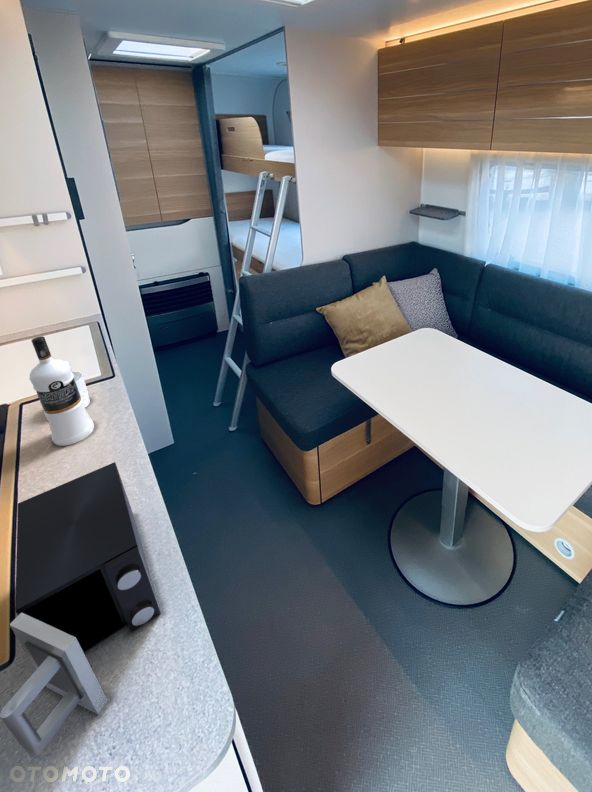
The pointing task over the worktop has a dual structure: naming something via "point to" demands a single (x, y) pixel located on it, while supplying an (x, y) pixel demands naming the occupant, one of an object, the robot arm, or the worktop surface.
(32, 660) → the microwave door
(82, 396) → the white cup
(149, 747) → the worktop surface
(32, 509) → the microwave
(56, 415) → the vodka
